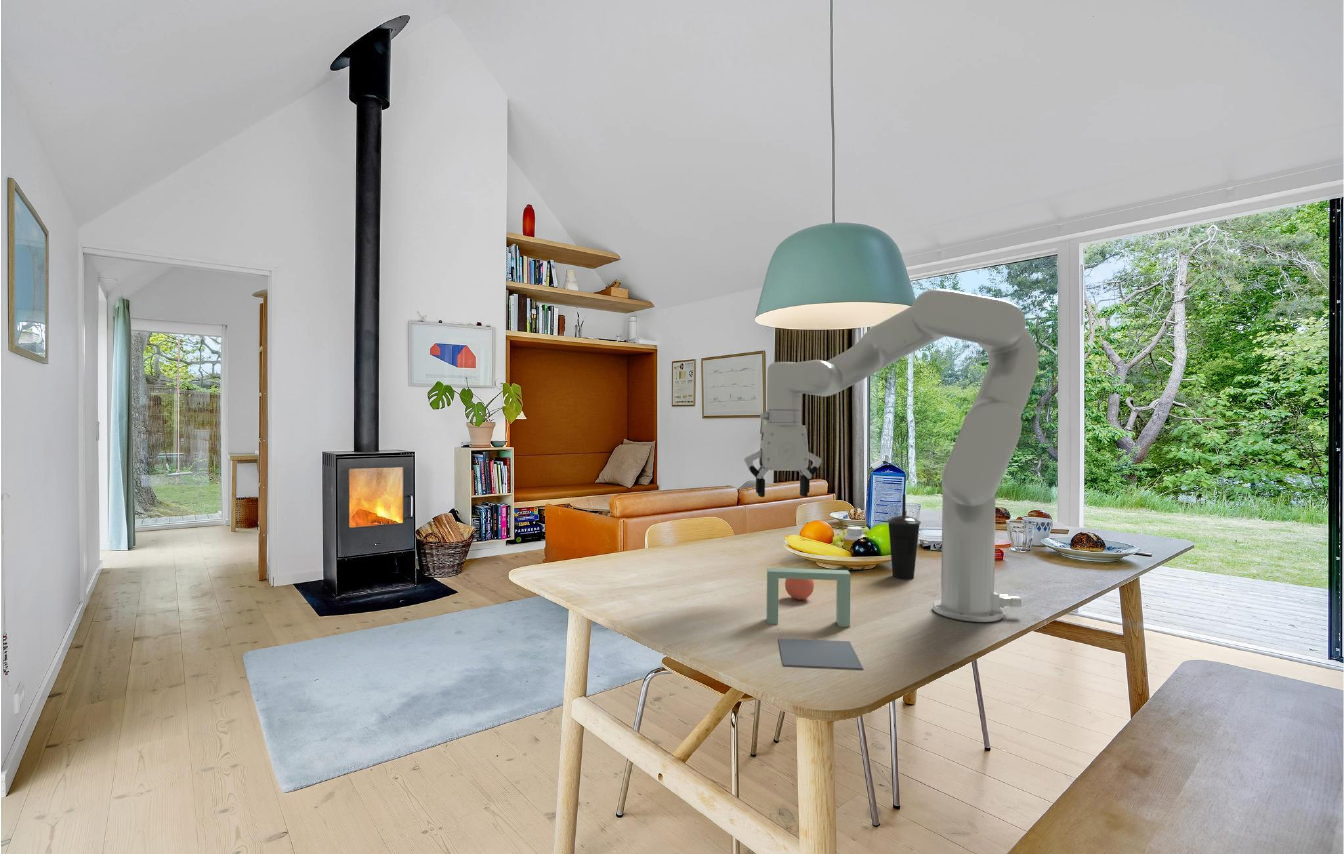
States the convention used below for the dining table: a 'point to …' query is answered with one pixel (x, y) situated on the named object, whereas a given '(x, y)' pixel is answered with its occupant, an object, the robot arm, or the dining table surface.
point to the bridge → (817, 574)
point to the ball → (799, 588)
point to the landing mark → (818, 654)
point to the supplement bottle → (852, 537)
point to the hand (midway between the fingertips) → (782, 496)
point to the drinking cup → (903, 544)
